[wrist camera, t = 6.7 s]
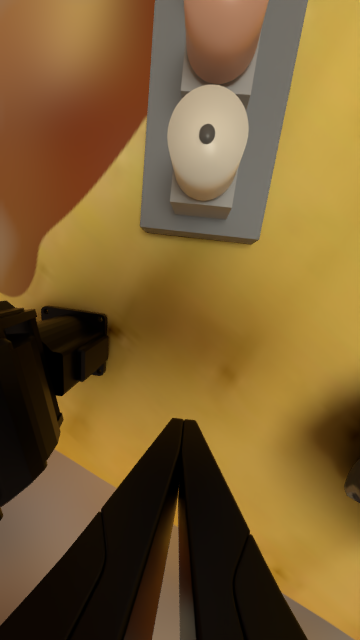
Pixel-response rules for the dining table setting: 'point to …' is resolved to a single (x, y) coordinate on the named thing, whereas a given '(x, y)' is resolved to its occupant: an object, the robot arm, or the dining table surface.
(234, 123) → the cream key
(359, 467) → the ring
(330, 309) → the dining table surface
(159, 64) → the grey button panel
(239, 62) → the terracotta key
